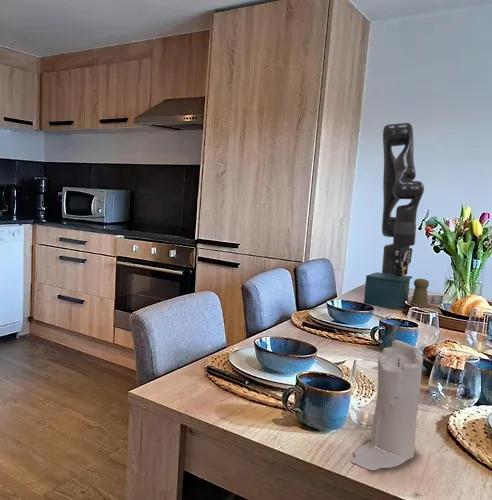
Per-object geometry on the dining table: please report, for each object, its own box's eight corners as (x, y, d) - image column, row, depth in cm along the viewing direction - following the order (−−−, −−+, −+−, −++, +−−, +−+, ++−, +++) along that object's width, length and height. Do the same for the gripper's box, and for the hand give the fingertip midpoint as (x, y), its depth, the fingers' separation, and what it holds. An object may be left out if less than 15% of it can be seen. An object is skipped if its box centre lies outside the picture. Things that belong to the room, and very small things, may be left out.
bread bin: (407, 305, 202) (409, 278, 201) (397, 309, 195) (400, 282, 193) (374, 299, 211) (376, 274, 210) (363, 303, 204) (365, 277, 202)
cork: (423, 304, 203) (426, 277, 202) (430, 308, 197) (433, 280, 196) (408, 304, 204) (410, 277, 202) (414, 307, 198) (417, 280, 196)
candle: (341, 457, 90) (349, 349, 87) (383, 435, 98) (392, 336, 95) (379, 477, 84) (389, 362, 81) (421, 452, 92) (432, 346, 89)
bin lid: (412, 278, 200) (412, 265, 200) (402, 281, 193) (403, 268, 192) (376, 274, 210) (377, 262, 209) (366, 277, 202) (366, 265, 202)
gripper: (408, 234, 188) (404, 279, 190) (421, 232, 198) (417, 274, 200) (387, 233, 193) (384, 276, 196) (401, 230, 203) (397, 271, 206)
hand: (401, 275), depth 198 cm, fingers closed on bin lid, 5 cm apart
